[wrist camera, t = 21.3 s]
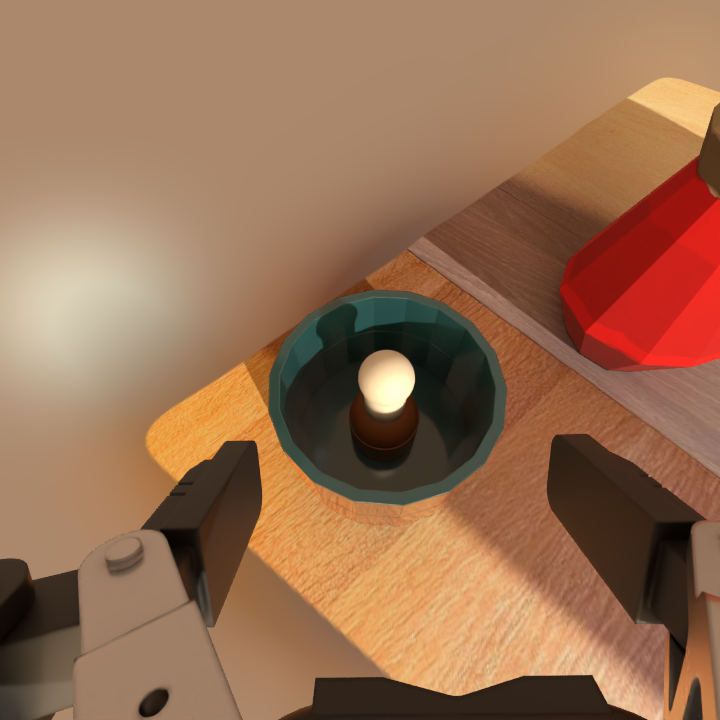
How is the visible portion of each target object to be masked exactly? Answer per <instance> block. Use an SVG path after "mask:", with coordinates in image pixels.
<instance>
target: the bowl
mask: <svg viewBox="0 0 720 720" xmlns="http://www.w3.org/2000/svg"><path fill="white" fill-rule="evenodd" d="M381 350H392V351H396V352H398V353H400V354H402V355H403V356H405V357H406V358H407V359H408V360H409V362H410V363H411V365H412V367H413V369H414V374H415V383H414V387H413V390H412V392H411V393H410V394H411V396H412V397H413V399H414V400H415V403H416V405H417V407H418V411H419V425H418V429H417V432H416V436H415V439H414V442H413V444H412V446H411V448H410V449H409V450H408V451H407V452H406V453H405V454H404V455H403V456H401V457H399V458H397V459H395V460H391V461H376V460H373V459H370V458H368V457H366V456H365V455H363V454H362V453H361V452H360V451H359V450H358V449H357V447H356V446H355V444H354V442H353V440H352V436H351V430H350V424H349V411H350V407H351V404H352V402H353V400H354V399H355V397H356V396H357V394H358V393H359V392H360V391H361V389H360V386H359V382H358V375H359V370H360V367H361V365H362V363H363V362H364V360H365V359H366V358H367V357H368V356H370V355H371V354H373V353H375V352H377V351H381ZM506 398H507V387H506V383H505V380H504V377H503V374H502V371H501V367H500V364H499V361H498V358H497V355H496V352H495V351H494V349H493V348H492V347H491V346H490V344H489V343H488V342H487V340H486V339H485V338H484V336H483V335H482V334H481V332H480V331H479V330H478V329H477V327H476V326H475V325H474V324H473V323H472V322H471V321H470V320H468V319H467V318H465V317H464V316H462V315H461V314H459V313H458V312H456V311H455V310H454V309H452V308H451V307H449V306H448V305H446V304H445V303H443V302H440V301H437V300H434V299H431V298H428V297H425V296H422V295H419V294H416V293H413V292H408V291H391V290H370V291H365V292H361V293H357V294H352V295H348V296H344V297H339V298H337V299H335V300H333V301H332V302H330V303H328V304H326V305H325V306H323V307H321V308H319V309H318V310H316V311H314V312H312V313H310V314H309V315H307V316H306V317H305V318H304V319H303V320H302V321H301V323H300V324H299V325H298V326H297V327H296V328H295V329H294V330H293V331H292V332H291V333H290V334H289V336H288V337H287V338H286V339H285V340H284V342H283V344H282V346H281V348H280V351H279V353H278V355H277V358H276V360H275V362H274V365H273V367H272V370H271V372H270V375H269V407H268V411H269V415H270V418H271V420H272V423H273V426H274V428H275V431H276V434H277V436H278V439H279V441H280V444H281V447H282V449H283V451H284V452H285V454H286V455H287V457H288V458H289V460H290V461H291V463H292V464H293V465H294V467H295V468H296V470H297V471H298V473H299V474H300V476H301V477H302V479H303V480H304V482H305V483H306V484H307V485H308V486H309V488H310V489H311V490H312V491H313V492H314V493H315V494H316V495H317V497H318V498H319V499H320V500H321V501H322V502H323V503H324V504H325V505H326V506H327V507H328V508H330V509H332V510H334V511H335V512H337V513H339V514H341V515H343V516H345V517H346V518H349V519H351V520H354V521H356V522H358V523H361V524H369V525H376V526H398V525H402V524H406V523H411V522H414V521H416V520H419V519H422V518H425V517H428V516H430V515H431V514H433V513H434V512H435V511H436V510H438V509H439V508H440V507H441V506H443V505H444V504H445V503H446V502H447V501H449V500H450V499H451V498H452V497H454V496H455V495H456V494H457V493H458V492H459V491H460V490H461V488H462V487H463V486H464V485H465V484H466V483H467V482H468V481H469V480H470V479H471V478H472V477H473V476H474V475H475V474H476V473H477V471H478V470H479V469H480V468H481V467H482V466H483V465H484V464H485V462H486V461H487V459H488V457H489V455H490V453H491V451H492V449H493V447H494V446H495V444H496V442H497V440H498V438H499V436H500V434H501V432H502V431H503V429H504V422H505V410H506Z"/></svg>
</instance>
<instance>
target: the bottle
mask: <svg viewBox="0 0 720 720" xmlns="http://www.w3.org/2000/svg"><path fill="white" fill-rule="evenodd" d="M559 291H560V297H561V302H562V308H563V314H564V319H565V325H566V331H567V333H568V335H569V337H570V338H571V340H572V342H573V343H574V345H575V347H576V348H577V350H578V352H579V354H580V355H582V356H584V357H585V358H587V359H589V360H590V361H592V362H594V363H595V364H597V365H599V366H600V367H602V368H604V369H605V370H611V371H631V372H632V371H645V370H657V369H670V368H682V367H693V366H696V365H700V364H703V363H706V362H709V361H712V360H716V359H719V358H720V103H719V104H718V105H717V106H716V107H714V110H713V113H712V116H711V120H710V123H709V126H708V129H707V132H706V136H705V139H704V142H703V145H702V149H701V152H700V155H699V156H697V157H696V158H695V159H694V160H692V161H691V162H690V163H688V164H687V165H686V166H685V167H683V168H682V169H681V170H679V171H678V172H677V173H676V174H674V175H673V176H672V177H670V178H669V179H668V180H667V181H665V182H664V183H663V184H661V185H660V186H659V187H658V188H656V189H655V190H654V191H652V192H651V193H650V194H649V195H647V196H646V197H645V198H643V199H642V200H641V201H640V202H638V203H637V204H636V205H634V206H633V207H632V208H631V209H629V210H628V211H627V212H625V213H624V214H623V215H622V216H620V217H619V218H618V219H616V220H615V221H614V222H613V223H611V224H610V225H609V226H607V227H606V228H605V229H604V230H602V231H601V232H600V233H598V234H597V235H596V236H595V237H593V238H592V239H591V240H590V241H589V242H588V243H587V244H586V245H585V246H584V247H582V248H581V249H580V250H579V251H578V252H577V253H576V254H575V255H574V256H573V257H572V258H571V259H570V260H568V263H567V267H566V270H565V273H564V277H563V280H562V283H561V287H560V290H559Z"/></svg>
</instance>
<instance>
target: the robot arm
mask: <svg viewBox="0 0 720 720" xmlns="http://www.w3.org/2000/svg"><path fill="white" fill-rule="evenodd" d="M547 496H548V501H549V504H550V507H551V509H552V511H553V512H554V514H555V515H556V516H557V518H558V519H559V520H560V522H561V523H562V525H563V526H564V527H565V529H566V530H567V531H568V533H569V534H570V535H571V537H572V538H573V539H574V541H575V542H576V544H577V545H578V546H579V548H580V549H581V550H582V552H583V553H584V554H585V556H586V557H587V558H588V560H589V561H590V563H591V564H592V565H593V567H594V568H595V569H596V571H597V572H598V573H599V575H600V576H601V578H602V579H603V580H604V582H605V583H606V584H607V586H608V587H609V588H610V590H611V591H612V592H613V594H614V595H615V597H616V598H617V599H618V601H619V602H620V603H621V605H622V606H623V607H624V609H625V610H626V611H627V613H628V614H629V616H630V617H631V618H632V620H633V621H634V622H635V624H664V625H665V627H666V628H667V629H668V634H667V639H666V644H665V674H664V719H663V720H720V521H719V520H706V519H705V518H704V517H703V516H701V515H700V514H699V513H697V512H696V511H695V510H693V509H692V508H691V507H690V506H688V505H687V504H686V503H684V502H683V501H682V500H681V499H679V498H678V497H677V496H675V495H674V494H673V493H671V492H670V491H669V490H668V489H666V488H662V485H661V484H660V483H658V482H657V481H656V480H655V479H653V478H652V477H649V476H648V474H647V473H646V472H644V471H643V470H642V469H640V468H639V467H638V466H636V465H635V464H634V463H633V462H631V461H628V460H626V459H624V458H622V457H620V456H618V455H616V454H614V453H612V452H610V451H608V450H607V449H606V448H605V447H603V446H602V445H601V444H600V443H598V442H597V441H596V440H595V439H593V438H592V437H591V436H589V435H587V434H565V435H556V436H555V437H554V438H553V440H552V445H551V453H550V463H549V472H548V481H547ZM261 506H262V486H261V477H260V468H259V459H258V450H257V445H256V443H255V441H226V442H225V443H224V444H223V445H222V446H221V448H220V449H219V450H218V452H217V453H216V454H215V456H214V457H213V458H212V460H204V461H202V462H201V463H199V464H198V465H196V466H195V467H193V468H192V469H190V470H189V471H188V472H187V473H186V474H185V475H184V477H183V478H182V479H181V480H180V481H179V483H178V485H176V486H175V488H174V489H173V490H172V491H171V492H170V496H167V497H166V499H165V500H164V501H163V502H162V503H161V505H160V506H159V507H158V509H156V511H155V512H154V513H153V514H152V516H151V517H150V518H149V519H148V520H147V522H146V523H145V524H144V525H143V526H142V528H141V529H140V530H136V531H132V532H128V533H125V534H121V535H119V536H117V537H114V538H112V539H110V540H108V541H106V542H105V543H103V544H101V545H100V546H98V547H97V548H96V549H95V550H93V551H92V552H91V553H90V554H89V555H88V556H87V557H86V558H85V559H84V560H83V562H82V564H81V565H80V568H79V569H78V570H74V571H70V572H65V573H61V574H57V575H53V576H49V577H45V578H40V579H37V580H32V578H31V575H30V572H29V569H28V565H27V563H25V562H24V561H22V560H20V559H1V560H0V720H51V719H52V718H53V716H54V715H55V713H56V712H58V711H61V710H64V709H67V708H70V707H73V716H74V717H73V720H242V717H241V714H240V712H239V710H238V707H237V704H236V702H235V699H234V697H233V694H232V691H231V689H230V686H229V684H228V681H227V679H226V676H225V674H224V671H223V669H222V666H221V663H220V661H219V658H218V656H217V653H216V651H215V648H214V645H213V643H212V640H211V638H210V635H209V633H208V630H207V627H214V626H215V624H216V621H217V618H218V616H219V614H220V612H221V609H222V607H223V604H224V602H225V599H226V597H227V594H228V592H229V589H230V587H231V585H232V582H233V579H234V577H235V574H236V572H237V570H238V567H239V565H240V562H241V560H242V557H243V555H244V552H245V550H246V548H247V545H248V543H249V540H250V538H251V535H252V533H253V530H254V528H255V525H256V523H257V520H258V518H259V515H260V512H261ZM279 720H647V719H645V718H643V717H641V716H639V715H637V714H635V713H632V712H629V711H627V710H624V709H621V708H618V707H616V706H613V705H609V704H607V702H606V700H605V698H604V696H603V694H602V692H601V691H600V689H599V687H598V685H597V683H596V681H595V680H594V678H593V676H592V675H568V676H522V677H519V678H516V679H512V680H509V681H506V682H503V683H500V684H497V685H494V686H491V687H488V688H485V689H481V690H478V691H475V692H472V693H469V694H466V695H462V696H451V695H447V694H443V693H439V692H436V691H432V690H428V689H425V688H421V687H417V686H413V685H410V684H406V683H402V682H399V681H395V680H391V679H387V678H384V677H364V678H363V677H361V678H360V677H358V678H316V679H315V688H314V696H313V704H312V705H310V706H307V707H304V708H301V709H299V710H297V711H295V712H292V713H290V714H288V715H286V716H284V717H282V718H281V719H279Z"/></svg>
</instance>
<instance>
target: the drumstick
mask: <svg viewBox="0 0 720 720" xmlns="http://www.w3.org/2000/svg"><path fill="white" fill-rule="evenodd" d="M358 382H359V386H360V389H361V391H360V392H359V393H358V394H357V396H356V397H355V399H354V400H353V402H352V404H351V407H350V411H349V424H350V430H351V436H352V440H353V442H354V444H355V446H356V447H357V449H358V450H359V451H360V452H361V453H362V454H363V455H365V456H366V457H368V458H370V459H373V460H376V461H391V460H395V459H397V458H399V457H401V456H403V455H404V454H405V453H406V452H407V451H408V450H409V449H410V448H411V446H412V444H413V442H414V439H415V436H416V432H417V429H418V425H419V411H418V407H417V405H416V403H415V400H414V399H413V397H412V396H411V394H410V393H411V392H412V390H413V387H414V383H415V374H414V369H413V367H412V365H411V363H410V362H409V360H408V359H407V358H406V357H405V356H403V355H402V354H400V353H398V352H396V351H392V350H381V351H377V352H375V353H373V354H371V355H370V356H368V357H367V358H366V359H365V360H364V362H363V363H362V365H361V367H360V370H359V375H358Z"/></svg>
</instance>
